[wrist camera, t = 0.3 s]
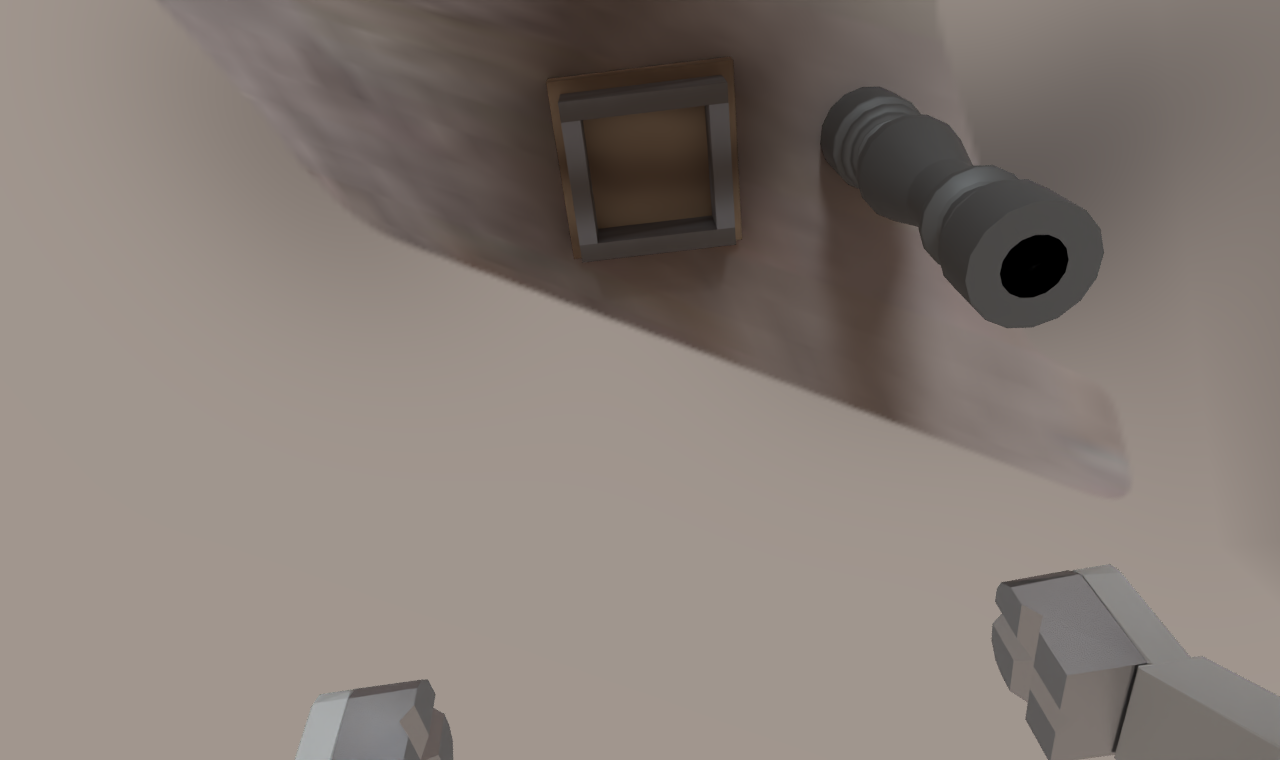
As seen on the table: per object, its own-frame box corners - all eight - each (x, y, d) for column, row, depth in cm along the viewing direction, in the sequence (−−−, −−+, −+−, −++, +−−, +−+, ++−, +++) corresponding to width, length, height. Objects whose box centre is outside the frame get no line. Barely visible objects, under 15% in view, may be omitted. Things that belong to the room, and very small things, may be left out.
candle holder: (824, 187, 57) (960, 346, 35) (815, 97, 54) (957, 211, 32) (912, 168, 56) (1105, 317, 35) (908, 76, 53) (1116, 178, 32)
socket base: (547, 78, 53) (542, 90, 49) (730, 56, 52) (739, 66, 48) (574, 251, 59) (572, 274, 55) (738, 232, 58) (748, 254, 54)
